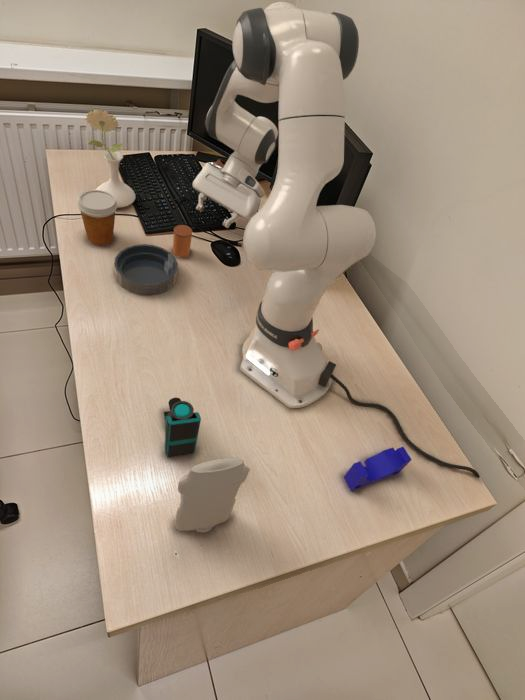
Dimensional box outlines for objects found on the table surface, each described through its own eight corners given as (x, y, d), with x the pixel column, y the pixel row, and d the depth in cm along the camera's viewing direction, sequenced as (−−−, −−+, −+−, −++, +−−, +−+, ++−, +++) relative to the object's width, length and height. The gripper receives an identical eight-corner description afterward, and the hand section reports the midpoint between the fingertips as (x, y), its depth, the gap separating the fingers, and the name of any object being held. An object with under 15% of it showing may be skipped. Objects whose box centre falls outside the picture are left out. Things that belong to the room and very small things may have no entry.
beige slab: (174, 539, 78) (183, 484, 61) (170, 515, 80) (177, 456, 64) (234, 525, 81) (258, 469, 65) (229, 503, 84) (250, 444, 67)
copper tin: (193, 255, 126) (195, 233, 121) (178, 260, 124) (180, 237, 118) (183, 245, 128) (185, 223, 123) (168, 250, 126) (170, 227, 120)
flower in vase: (141, 196, 139) (142, 112, 121) (125, 216, 132) (123, 128, 113) (100, 183, 139) (94, 97, 121) (82, 202, 132) (72, 112, 113)
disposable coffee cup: (114, 253, 121) (112, 213, 112) (76, 246, 119) (71, 206, 110) (122, 232, 127) (121, 193, 118) (86, 225, 126) (82, 185, 117)
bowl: (188, 284, 119) (189, 272, 116) (135, 304, 110) (135, 292, 107) (156, 250, 125) (156, 238, 122) (103, 267, 116) (102, 254, 114)
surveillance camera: (191, 374, 85) (201, 420, 80) (186, 409, 94) (195, 453, 89) (160, 377, 84) (169, 425, 78) (158, 413, 93) (166, 458, 87)
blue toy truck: (387, 454, 97) (399, 440, 93) (398, 473, 95) (411, 459, 90) (339, 470, 92) (349, 456, 88) (350, 490, 90) (361, 477, 86)
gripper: (204, 154, 128) (178, 197, 129) (264, 187, 123) (236, 232, 124) (212, 164, 134) (187, 205, 135) (269, 196, 129) (243, 238, 130)
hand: (211, 218), depth 129 cm, fingers open, 8 cm apart
